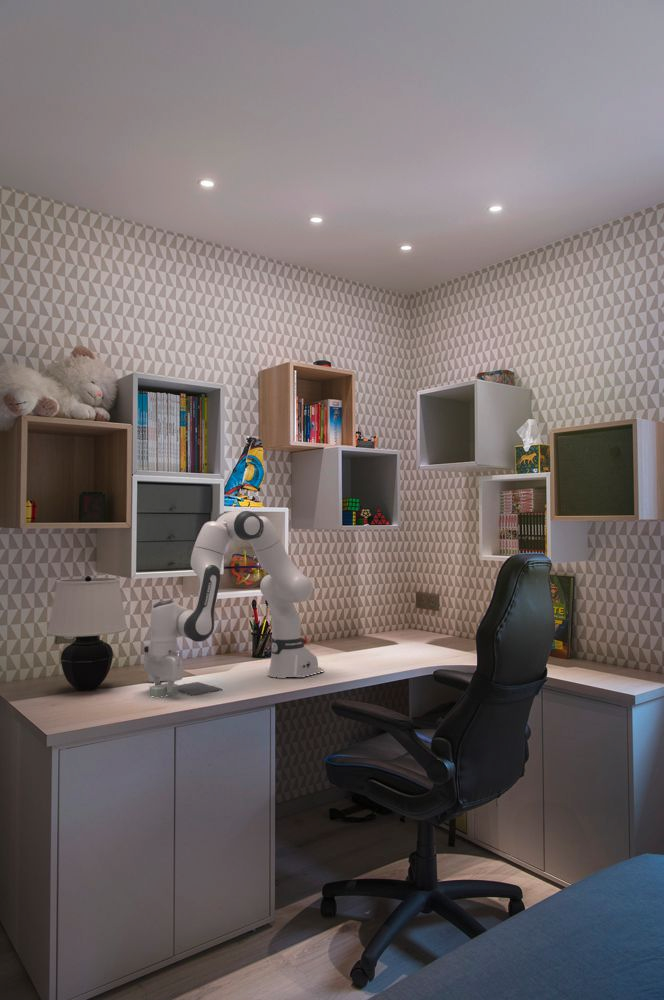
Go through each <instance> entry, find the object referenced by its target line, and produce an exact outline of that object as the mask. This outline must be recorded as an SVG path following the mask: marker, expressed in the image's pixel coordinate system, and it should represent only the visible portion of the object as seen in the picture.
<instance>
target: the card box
mask: <svg viewBox="0 0 664 1000" xmlns="http://www.w3.org/2000/svg"><path fill="white" fill-rule="evenodd" d="M167 684H168V682H166V683H161V684H160V685H155V684H154V685H150V686H149V695H150V696H149V697H151V696H154V697H161V696H166V695H171V696H173V695H172V694H176V695H178V691H177V685H178V684H177V683H174V684H173V686H172V692H166V686H167ZM154 697H153V698H154ZM166 697H167V696H166ZM161 698H162V697H161Z"/></svg>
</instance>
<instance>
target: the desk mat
mask: <svg viewBox="0 0 664 1000" xmlns="http://www.w3.org/2000/svg"><path fill="white" fill-rule="evenodd" d="M177 690H178V691H177V692H179V691H180V693H182V692H183V694H185V693H187V694H186V695H188V694H190V695H189V696H192V695H194V696H198V694H199V695H204V693H205V694H209V693H208V692H210V693H214V691H215V692H220V691H219V690H221V691H223V688H220V687H217V686H215V685H210V684H206V683H204V682H199V681H194V682H190V683H189V682H188V683H182V684H177Z"/></svg>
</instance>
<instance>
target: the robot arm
mask: <svg viewBox="0 0 664 1000" xmlns="http://www.w3.org/2000/svg"><path fill="white" fill-rule="evenodd" d="M230 541H233V542H239V541H248V542H249V543H250V545H251V548H252V549H253V552H254V554H255V557H256V559H257V562H258V563H259V566H260V568H261V569H262V570H263V571H265V572H266V573H267V574H266V575H265V576H264V577H263V578H262V579H261V581H260V583H259V584H260V586H259V589H260V592H261V594H262V596H264V598H265V600H266V603H267V606H268V608H269V611H270V612H269V613H270V617H271V634H272V635H271V638H270V649H271V650H270V651H271V656H270V663H269V664H270V665H269V670H268V673H267V676H268V677H272V678H276V677H277V679H287V678H286V677H303V676H307V675H311V674H314V673H318V672H321V671H323V670H324V671H325V669H324V668H322V667H319V661H318V658H317V656H316V655H315V654H314V653H312V652H311V651H310V650H309V649H308V648H306V647H305V644H309V642H310V639H309V638H307V637H303V638H302V636H301V633H302V632H301V627H302V625H301V617H300V614H299V613H298V612H297V611H296V609H295V606H294V604H297V603H304V602H306V601H308V600H309V599H310V598H311V597H312V595H313V590H314V587H313V582H312V581H311V579H310V578H309V577H307V576H306V575H304V574H303V572H301V571H300V569H299V568H298V567H297V566H296V565H295V563H294V562H293V561H292V560H291V558H290V556H289V554H288V553H287V551H286V549H285V546H284V544H283V542H282V540H281V538H280V535H279V534H278V532H277V529H276V528H275V526H274V525H273V523H272V521H271V520H270V519H269V518H268V517H267V516H262V515H260V516H258V514H256V513H255V512H252V511H250V510H233V511H225V512H222V513H220V514H219V515H218V516H216V517H215V519H214V520H210V521H206V522H205V523H204V524H203V525H202V527H201V529H200V531H199V533H198V535H197V538H196V540H195V543H194V546H193V549H192V551H191V557H190V566H191V567H190V568H191V569H192V571H193V572H194V574H196V576H197V577H198V581H199V591H198V595H197V599H196V604H195V607H194V609H190V608H187V607H185V606H182V605H180V604H178V603H177V602H176V601H174V600H169V599H168V600H161V601H159V602H156V603H155V604H153V606H152V608H151V613H150V620H149V621H150V626H149V627H150V631H151V634H150V635H151V636H150V641H149V642H150V643H149V644H147V645H144V646H143V651H142V652H143V653H144V655H143V665H144V666H143V667H144V672H145V673H146V674H147V675H148V674H152V675H153V680H154V682H153V684H154V685H160V684H162V682H160V679H159V677H162V678H165V679H167V682H166V683H168V684H167V686H166V692H172V686H173V684H175V682H176V681H181V680H183V679H184V678H183V677H184V668H183V659H182V657H181V656H180V654H179V652H178V645H177V644H178V637H183V638H187V639H189V640H191V641H193V642H198V643H199V642H204V641H205V640H206V641H207V639H209V638H210V637H211V636H212V634H213V632H214V630H215V629H214V628H215V613H214V612H215V609H216V608H215V607H216V603H217V598H218V593H219V587H220V582H221V570H222V569H221V568H222V565H223V561H224V556H225V553H226V548H227V546H228V544H229V543H230Z"/></svg>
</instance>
